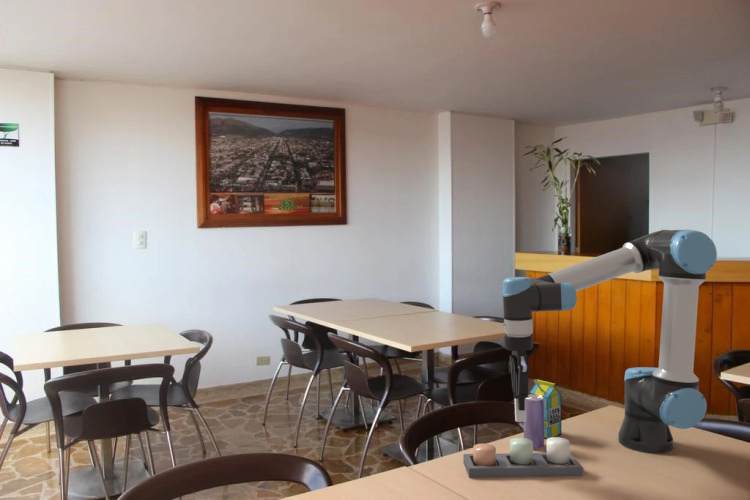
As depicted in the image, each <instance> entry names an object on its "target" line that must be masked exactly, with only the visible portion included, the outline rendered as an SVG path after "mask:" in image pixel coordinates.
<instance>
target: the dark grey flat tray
mask: <svg viewBox="0 0 750 500" xmlns="http://www.w3.org/2000/svg"><path fill="white" fill-rule="evenodd" d="M462 458H463V465H464V468H465V471H466V473H467V476H468V478H470V479H472V478H474V479H478V478H479V479H480V478H484V479H485V478H486V479H487V478H564V477H565V478H566V477H567V478H568V477H569V478H570V477H571V478H573V477H574V478H576V477H579V478H582V477H584V466H583V465H582V464H581V463H580V462H579V461H578V460H577V458H575V456H574V455H573V454H572V453H571V452H570V461H569V462H568V463H564V464H558V463H553V462H550V461H548V460H547V452H540V453H539V452H533V461H532V462H531V463H529V464H525V465H519V464H518V463H514V462H512V461H511V460H510V452H508V453H496V466H474V465H473V453H463V456H462Z"/></svg>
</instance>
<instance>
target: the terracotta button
mask: <svg viewBox="0 0 750 500" xmlns="http://www.w3.org/2000/svg"><path fill="white" fill-rule="evenodd" d="M496 448H497V447H496V446H495V445H493V444H490V443H477V444H475V445H473V449H472V450H473V452H472V454H473V465H474V466H496V454H497V453H496V452H497V450H496Z"/></svg>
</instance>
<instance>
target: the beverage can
mask: <svg viewBox="0 0 750 500" xmlns="http://www.w3.org/2000/svg"><path fill="white" fill-rule="evenodd" d="M523 438H526V439H530V440H531V441H532V442H533V450H542V449H543V447H544V446H545V439H544V399H543V397H542V396H540V395H534V394H530V395H529V394H528V398H526V422H523Z"/></svg>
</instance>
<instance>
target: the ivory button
mask: <svg viewBox="0 0 750 500" xmlns="http://www.w3.org/2000/svg"><path fill="white" fill-rule="evenodd" d="M570 445H571V444H570V440H568V439H566V438H563V437H560V436H557V437H551V438H548V439H546V453H547V460H548V461H550V462H553V463H558V464H557V465H565V464H564V463H568V462H569V461H570V453H571V451H570V449H571V448H570V447H571V446H570Z"/></svg>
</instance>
